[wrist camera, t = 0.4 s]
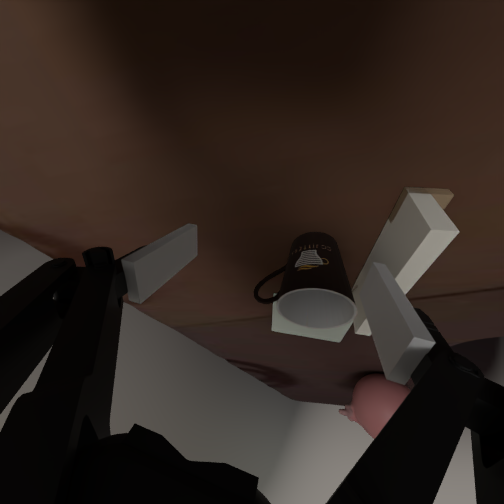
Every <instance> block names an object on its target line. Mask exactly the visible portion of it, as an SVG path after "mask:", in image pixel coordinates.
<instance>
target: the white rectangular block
mask: <svg viewBox="0 0 504 504" xmlns="http://www.w3.org/2000/svg"><path fill="white" fill-rule="evenodd" d="M453 196H454V195H453V193H452V192H451V191H450V190H449V189H437V188H416V187H404V189H403V191H402V193H401V195H400V197H399V199H398V201H397V203H396V205H395V207H394V209H393V210H392V212H391V214H390V216H389V218H388V220H387V222H386V224H385V226H384V228H383V230H382V232H381V234H380V236H379V238H378V239H377V241H376V243H375V245H374V247H373V249H372V251H371V253H370V255H369V257H368V259H367V261H366V263H365V265H364V267H363V269H362V270H361V272H360V274H359V276H358V278H357V280H356V282H355V284H354V286H353V288H352V290H351V291H352V294H353V297H354V301H355V304H356V307H357V315H356V317H355V319H354V320H353V322H354V329H355V334H361V335H367V336H370V335H371V334H372V333H371V330H370V327H369V324H368V321H367V317H366V314H365V311H364V308H363V305H362V302H361V299H360V295H359V293H360V291H361V289H362V286H363V284H364V282H365V279H366V277H367V275H368V272H369V270H370V268H371V265H372V263H373V262H376V263H381V264H385V265H386V266H387V268H388V269H389V271H390V273H391V274H392V276H393V277H394V279H395V280H396V282H397V283H398V285H399V287H400V288H401V290H402V291H403V293H404V294H406V293H407V292H408V291H409V290H410V289H411V287H412V286H413V285H414V284H415V283H416V282H417V280H418V279H419V278H420V277H421V276H422V275H423V274H424V272H425V271H426V270H427V269H428V268H429V267H430V265H431V264H432V263H433V262H434V261H435V260H436V258H437V257H438V256H439V255H440V254H441V253H442V252H443V250H444V249H445V248H446V247H447V246H448V245H449V243H450V242H451V241H452V240H453V239H454V238H455V236H456V235H457V234H458V233H459V230H458V229H457V228H456V226H455V225H454V224H453V222H452V221H451V220H450V218H449V217H448V216H447V215H446V213H445V212H444V211H443V210H444V209H445V207H446V206H447V204H448V203H449V202H450V200H451V199H452V198H453Z"/></svg>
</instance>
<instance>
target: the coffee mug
mask: <svg viewBox="0 0 504 504" xmlns="http://www.w3.org/2000/svg"><path fill="white" fill-rule="evenodd" d="M284 271H285V274H284V277H283V281H282V285H281V289H280V291H279V292H278V293H277V294H276V295H275V296H274V297H272V298H269V299H262V298H260V297H259V296H258V291H259V289H260V287H261V286H262V285H263V284H264V283H265V282H266V281H268V280H270V279H271V278H273V277H275V276H276V275H278V274H280V273H282V272H284ZM254 297H255V299H256V300H257V301H258V302H260V303H263V304H270V303H273V302H275V301H277V304H276V308H277V311H278V312H279V314H280V315H281V316H282V317H283V318H284V319H286V320H288V321H289V322H291V323H294V324H296V325H299V326H303V327H307V328H314V329H330V328H336V327H341V326H343V325H346V324H348V323H350V322H351V321H352V320H354V319H355V317H356V315H357V307H356V304H355V301H354V297H353V294H352V291H351V288H350V284H349V281H348V278H347V275H346V272H345V268H344V265H343V262H342V259H341V255H340V252H339V249H338V246H337V243H336V241H335V240H334V239H333V238H332V237H331V236H329V235H327V234H325V233H321V232H309V233H305V234H303V235H300V236H299V237H297V238H296V239H295V240H294V242H293V244H292V247H291V251H290V255H289V258H288V262H287V264H286V265H285V266H284V267H282V268H281V269H279V270H277V271H275V272H273V273H272V274H270V275H268V276H267V277H265V278H264V279H263V280H262V281H260V282H259V283H258V284H257V286H256V287H255V289H254Z"/></svg>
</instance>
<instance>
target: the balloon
mask: <svg viewBox="0 0 504 504" xmlns="http://www.w3.org/2000/svg"><path fill="white" fill-rule="evenodd" d="M409 393H410V390H409V389H408V388H407V387H406V386H405V385H403V384H400V383H396V382H393V381H390V380H387V379H386V377H385V374H380V373H374V374H369V375H366V376H364V377H362V378H361V379H360V380H359V381H358V382H357V384H356V386H355V388H354V391H353V400H352V401H351V403H350V404H346V405H345V409H339V413H340V414H342V415H345V416H348V419H349V420H350V421H355V422H357V423H358V424H359V425H361V426H362V427H363V428H364V429H365V430H366V432H367V433H368V434H369V435H370V436H372V437H373V438H374V439H375V438H376V436H377V435H378V434H379V432H380V431H381V430H382V428H383V427H384V426H385V425H386V423H387V422H388V421H389V419H390V418H391V417H392V415H393V414H394V413H395V411H396V410H397V409H398V407H399V406H400V405H401V403H402V402H403V401H404V399H405V398H406V397H407V395H408V394H409Z"/></svg>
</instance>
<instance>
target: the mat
mask: <svg viewBox="0 0 504 504" xmlns="http://www.w3.org/2000/svg"><path fill="white" fill-rule="evenodd" d="M275 295H276V293H274V295H273V297H274V296H275ZM276 304H277V301H275V302H273V314H272V331H276V332H282V333H288V334H293V335H299V336H305V337H311V338H317V339H322V340H328V341H334V342H340V341H341V340H342V338H343V337H344V335H345V334H346V332H347V331H348V329H349V328H350V326H351V325H352V323H353V320H352V321H351V322H350V323H348V324H346V325H343V326H341V327H336V328H330V329H314V328H307V327H303V326H299V325H296V324H294V323H291V322H289V321H288V320H286V319H284V318H283V317H282V316H281V315H280V314H279V312H278V311H277V308H276Z"/></svg>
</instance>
